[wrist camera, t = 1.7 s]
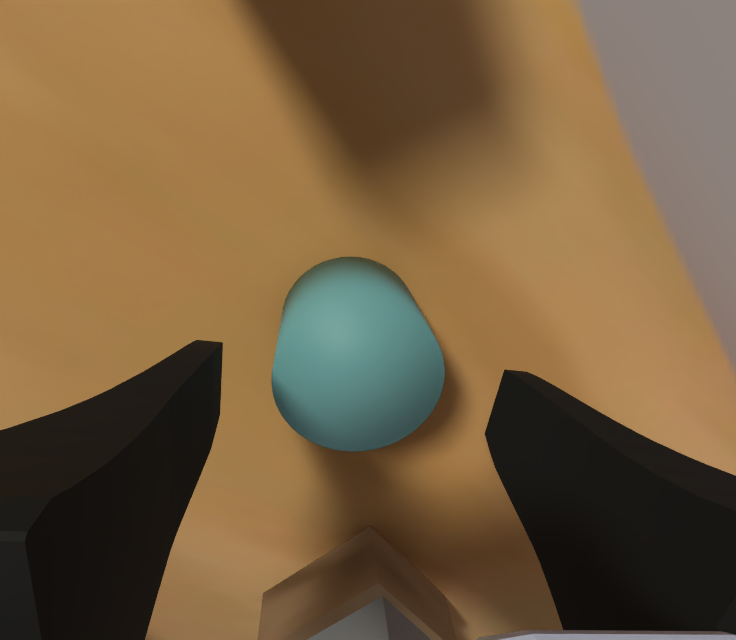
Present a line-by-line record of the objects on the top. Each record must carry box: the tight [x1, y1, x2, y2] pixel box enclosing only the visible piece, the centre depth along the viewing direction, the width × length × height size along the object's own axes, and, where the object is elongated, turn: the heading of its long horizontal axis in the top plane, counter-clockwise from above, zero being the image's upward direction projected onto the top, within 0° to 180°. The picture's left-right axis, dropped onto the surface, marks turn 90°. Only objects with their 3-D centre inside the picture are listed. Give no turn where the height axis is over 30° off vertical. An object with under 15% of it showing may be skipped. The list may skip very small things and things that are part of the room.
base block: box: [258, 526, 456, 640], centre depth 20 cm, size 6×6×3 cm
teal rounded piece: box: [272, 257, 445, 451], centre depth 14 cm, size 5×5×4 cm
